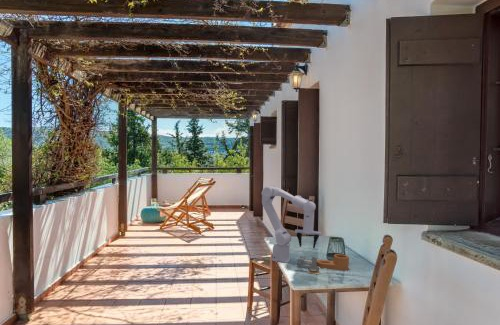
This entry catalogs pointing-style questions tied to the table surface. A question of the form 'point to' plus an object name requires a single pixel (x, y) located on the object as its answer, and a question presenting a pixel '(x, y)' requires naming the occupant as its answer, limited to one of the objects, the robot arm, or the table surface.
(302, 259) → the vise
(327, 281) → the table surface
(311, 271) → the pad
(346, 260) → the bracket
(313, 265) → the slotted grey block
